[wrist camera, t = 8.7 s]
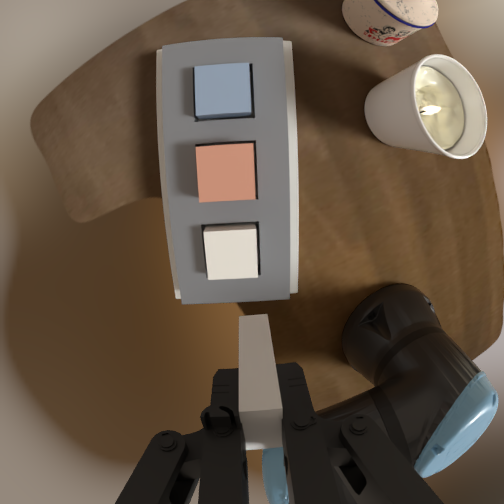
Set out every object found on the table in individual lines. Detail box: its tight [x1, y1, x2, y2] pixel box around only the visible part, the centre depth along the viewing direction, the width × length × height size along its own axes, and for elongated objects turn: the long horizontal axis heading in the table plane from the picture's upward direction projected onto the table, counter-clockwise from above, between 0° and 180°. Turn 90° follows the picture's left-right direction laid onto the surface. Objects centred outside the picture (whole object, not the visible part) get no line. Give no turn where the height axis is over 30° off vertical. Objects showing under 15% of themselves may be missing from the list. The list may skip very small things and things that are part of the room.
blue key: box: [195, 63, 251, 120], centre depth 24 cm, size 5×5×3 cm
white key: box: [204, 222, 258, 280], centre depth 29 cm, size 5×5×3 cm
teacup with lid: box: [342, 0, 438, 46], centre depth 19 cm, size 12×9×12 cm
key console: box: [156, 37, 299, 304], centre depth 29 cm, size 30×15×4 cm, turn 2°
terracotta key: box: [196, 143, 255, 203], centre depth 26 cm, size 5×5×3 cm
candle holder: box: [364, 54, 487, 159], centre depth 23 cm, size 10×10×12 cm
